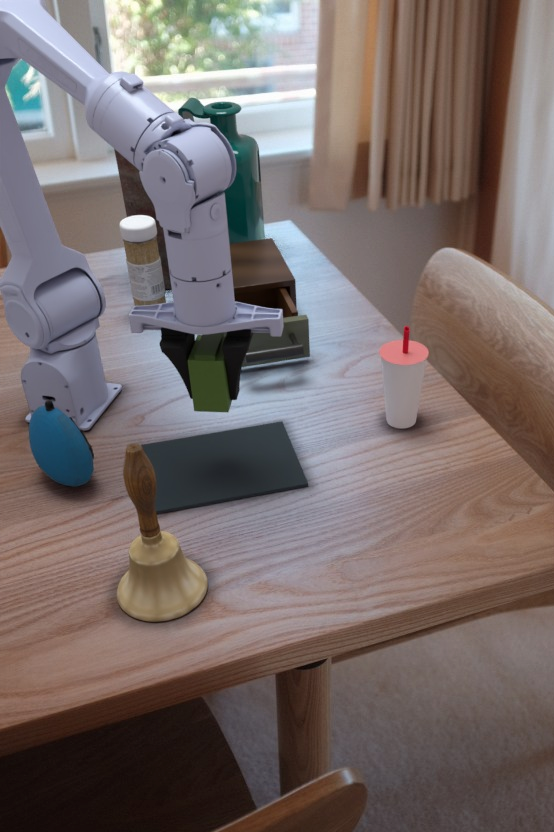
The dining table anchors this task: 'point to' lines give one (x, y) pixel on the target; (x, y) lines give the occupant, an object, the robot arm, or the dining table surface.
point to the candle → (141, 206)
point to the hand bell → (155, 555)
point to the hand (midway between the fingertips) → (215, 394)
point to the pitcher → (246, 186)
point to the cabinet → (260, 267)
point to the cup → (402, 379)
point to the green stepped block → (209, 374)
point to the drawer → (293, 333)
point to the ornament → (60, 446)
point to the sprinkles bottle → (143, 260)
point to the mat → (223, 466)
